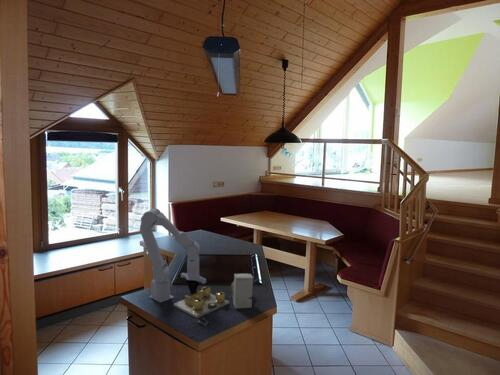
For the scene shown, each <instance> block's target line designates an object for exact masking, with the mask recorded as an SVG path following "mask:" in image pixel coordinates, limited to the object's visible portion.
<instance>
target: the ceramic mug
mask: <svg viewBox="0 0 500 375" xmlns="http://www.w3.org/2000/svg"><path fill="white" fill-rule="evenodd" d="M230 294H231V299H233V296H234V281H232V282H231V286H230Z"/></svg>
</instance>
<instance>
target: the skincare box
mask: <svg viewBox="0 0 500 375" xmlns="http://www.w3.org/2000/svg"><path fill="white" fill-rule="evenodd" d="M233 278H234V279H233V282H234V296H233V298H232V301H233V302H232V305H233V307H234V309H236V310H237V309H250V308H252V304H253V287H254V284H253V283H254V276H253V275H252V273H233Z"/></svg>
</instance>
